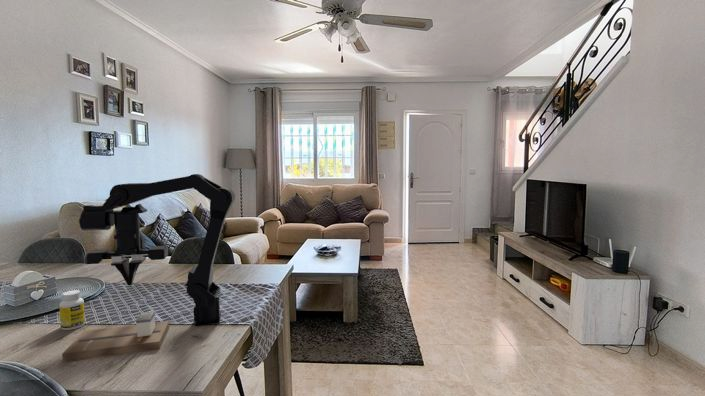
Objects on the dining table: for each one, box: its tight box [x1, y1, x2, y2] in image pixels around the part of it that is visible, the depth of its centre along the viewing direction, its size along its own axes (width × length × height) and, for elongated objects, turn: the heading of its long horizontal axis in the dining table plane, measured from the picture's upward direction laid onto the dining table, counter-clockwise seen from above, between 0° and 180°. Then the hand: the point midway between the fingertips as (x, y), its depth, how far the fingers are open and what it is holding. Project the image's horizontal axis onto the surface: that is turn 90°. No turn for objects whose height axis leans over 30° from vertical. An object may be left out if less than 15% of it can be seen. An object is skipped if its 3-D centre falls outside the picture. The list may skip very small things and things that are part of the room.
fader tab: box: [135, 311, 156, 337], centre depth 92 cm, size 3×5×4 cm, turn 17°
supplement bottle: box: [58, 289, 86, 331], centre depth 100 cm, size 5×5×10 cm
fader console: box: [61, 320, 170, 363], centre depth 91 cm, size 20×12×2 cm, turn 107°
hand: (130, 284), depth 99 cm, fingers closed
